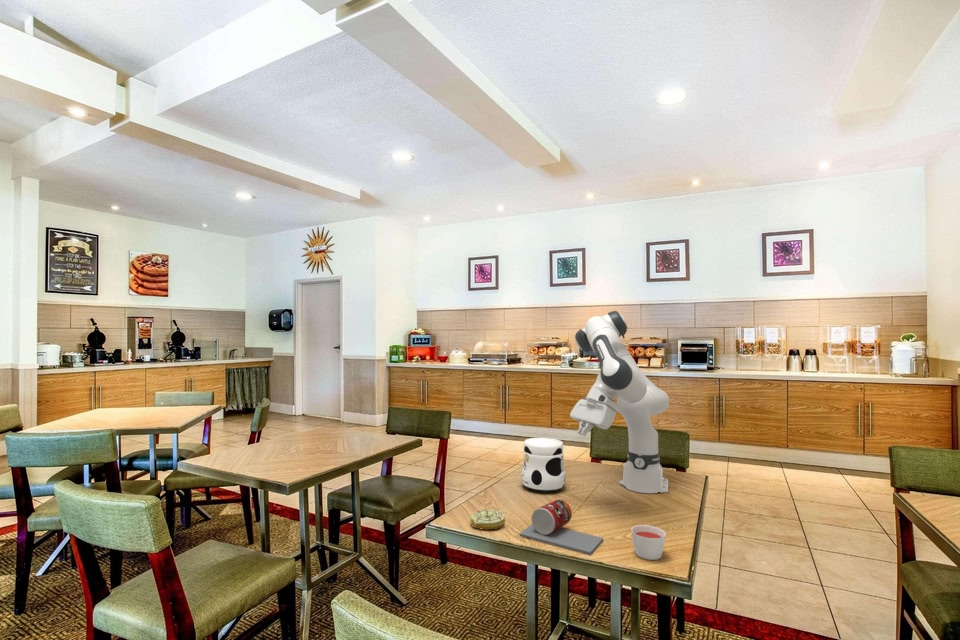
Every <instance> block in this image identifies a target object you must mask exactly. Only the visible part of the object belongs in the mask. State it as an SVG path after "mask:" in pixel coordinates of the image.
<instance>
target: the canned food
mask: <svg viewBox="0 0 960 640" xmlns="http://www.w3.org/2000/svg"><path fill="white" fill-rule="evenodd" d="M572 511H573V510H572V509H571V507H570V505H569V504H568V503H567V502H566V501H565V500H563V499H555V500H552V501H550V502H548V503H546V504H544V505H542V506H540V507H539V508H536V509H535V510H534V511H533V513H532V514H531V523H532V524H533V526H534V528H535V529H536V531H537V532H539V533H540V534H543V535H548V534H550V533H552V532H554V531H555V530H557V529H559V528H563V527H564V526H566V525H568V523H569V522H570V521H571V519H572V516H573V515H572V514H573V513H572Z"/></svg>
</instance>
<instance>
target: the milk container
mask: <svg viewBox="0 0 960 640" xmlns="http://www.w3.org/2000/svg"><path fill="white" fill-rule="evenodd" d="M520 473H521V474H520V477H521V478H520V479H521V483H522V484H523V485H522V486H524V487H525V488H527V489H528V490H532V491H535V492H544V493H545V492H546V493H547V492H548V493H549V492H550V493H551V492H556V491H559V490H561V489H563V488H564V486H565V483H566V478H567V477H566V470H565V467H564V443H563V441H562V440H560V439H557V438H551V437H530V438H526V439H524V441H523V463H522V468H521V472H520Z"/></svg>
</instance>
